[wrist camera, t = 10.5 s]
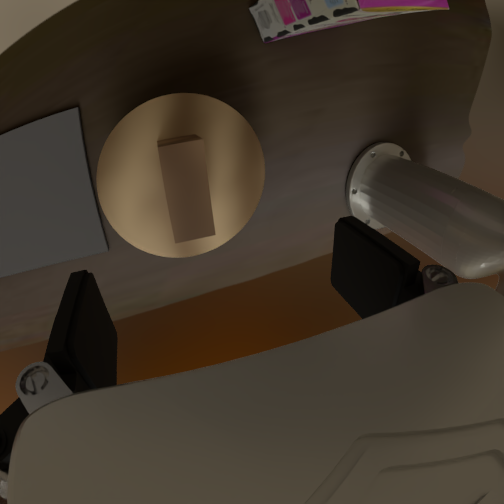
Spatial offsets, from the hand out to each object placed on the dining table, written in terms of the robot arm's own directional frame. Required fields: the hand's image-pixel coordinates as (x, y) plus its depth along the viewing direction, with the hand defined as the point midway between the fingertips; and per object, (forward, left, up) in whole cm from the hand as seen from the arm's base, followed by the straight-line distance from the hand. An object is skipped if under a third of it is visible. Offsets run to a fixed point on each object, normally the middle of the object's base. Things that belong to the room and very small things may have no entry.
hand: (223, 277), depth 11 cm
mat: (+17, 0, -22) cm, 28 cm away
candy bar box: (-15, -16, -22) cm, 31 cm away
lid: (0, 0, -16) cm, 16 cm away
